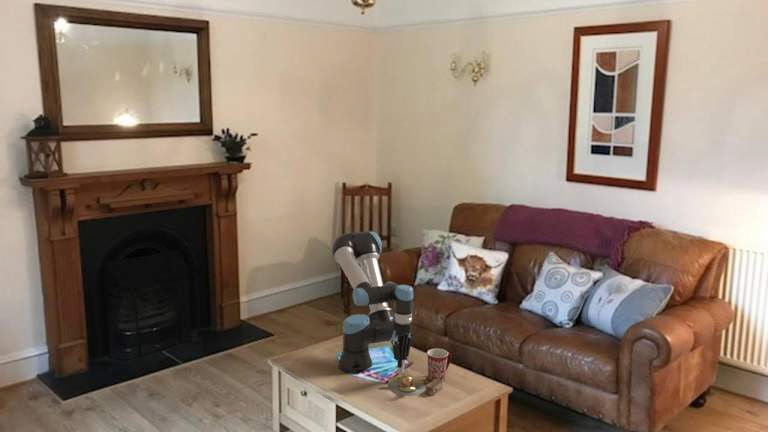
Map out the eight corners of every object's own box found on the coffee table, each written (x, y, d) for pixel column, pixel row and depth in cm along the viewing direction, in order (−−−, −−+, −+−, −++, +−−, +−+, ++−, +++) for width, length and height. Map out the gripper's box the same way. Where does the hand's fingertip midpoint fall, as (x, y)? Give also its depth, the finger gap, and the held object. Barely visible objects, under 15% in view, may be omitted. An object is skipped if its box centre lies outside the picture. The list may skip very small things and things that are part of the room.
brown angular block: (425, 396, 264) (425, 385, 263) (436, 389, 270) (436, 378, 269) (434, 400, 261) (434, 388, 260) (444, 392, 267) (445, 381, 266)
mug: (436, 388, 271) (437, 359, 268) (421, 380, 278) (422, 351, 275) (457, 380, 279) (458, 351, 276) (442, 372, 286) (443, 344, 283)
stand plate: (380, 390, 268) (380, 387, 268) (402, 377, 280) (402, 374, 280) (411, 402, 258) (411, 399, 258) (433, 388, 271) (433, 385, 270)
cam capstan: (387, 377, 277) (387, 363, 275) (424, 377, 277) (424, 363, 276) (388, 395, 261) (389, 380, 259) (427, 396, 261) (428, 380, 260)
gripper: (401, 327, 263) (398, 381, 267) (418, 320, 273) (416, 371, 277) (386, 323, 268) (384, 375, 272) (404, 315, 277) (402, 366, 282)
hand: (400, 373), depth 275 cm, fingers closed
